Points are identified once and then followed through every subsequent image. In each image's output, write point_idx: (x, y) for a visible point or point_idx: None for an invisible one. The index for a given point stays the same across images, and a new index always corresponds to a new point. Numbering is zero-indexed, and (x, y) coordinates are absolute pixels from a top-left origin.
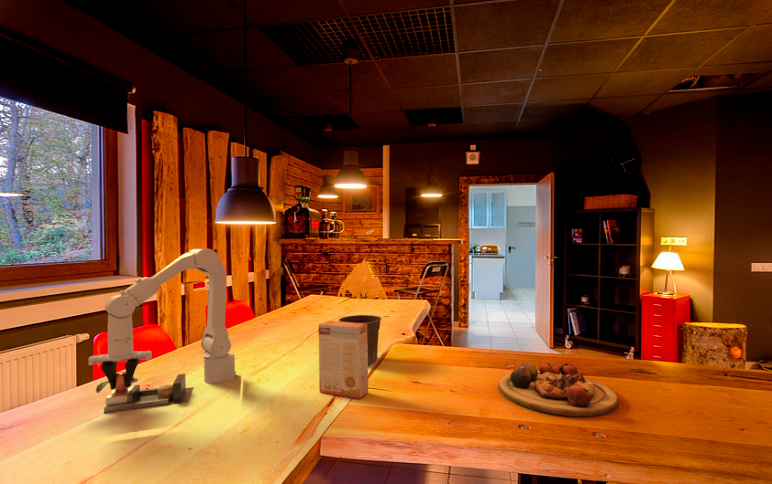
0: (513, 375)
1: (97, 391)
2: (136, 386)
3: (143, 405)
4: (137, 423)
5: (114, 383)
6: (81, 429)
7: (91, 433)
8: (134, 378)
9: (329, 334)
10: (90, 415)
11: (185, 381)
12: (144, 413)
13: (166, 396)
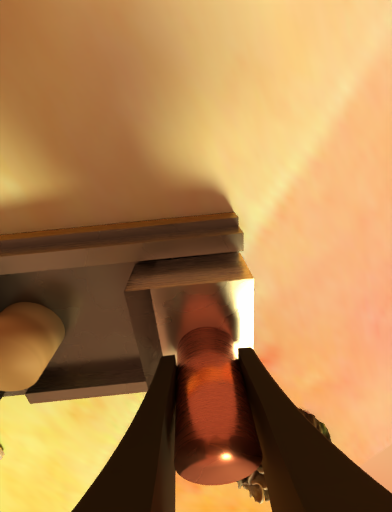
0: None
1: (323, 427)
2: None
3: (72, 245)
4: (37, 93)
5: (245, 384)
6: (289, 101)
7: (225, 21)
8: None
9: None
10: (293, 254)
11: None
12: (71, 216)
13: (2, 312)
